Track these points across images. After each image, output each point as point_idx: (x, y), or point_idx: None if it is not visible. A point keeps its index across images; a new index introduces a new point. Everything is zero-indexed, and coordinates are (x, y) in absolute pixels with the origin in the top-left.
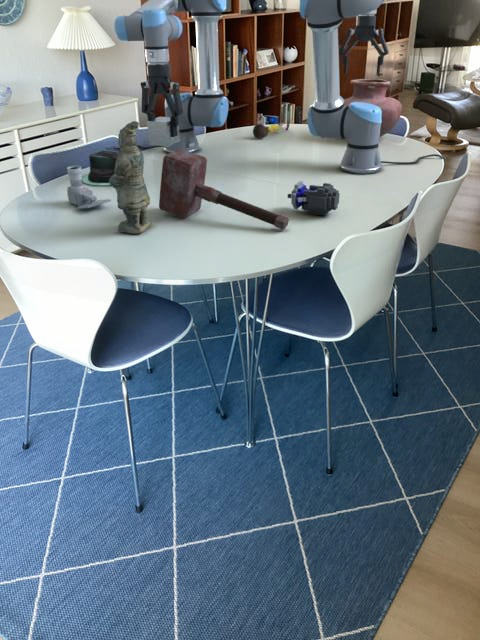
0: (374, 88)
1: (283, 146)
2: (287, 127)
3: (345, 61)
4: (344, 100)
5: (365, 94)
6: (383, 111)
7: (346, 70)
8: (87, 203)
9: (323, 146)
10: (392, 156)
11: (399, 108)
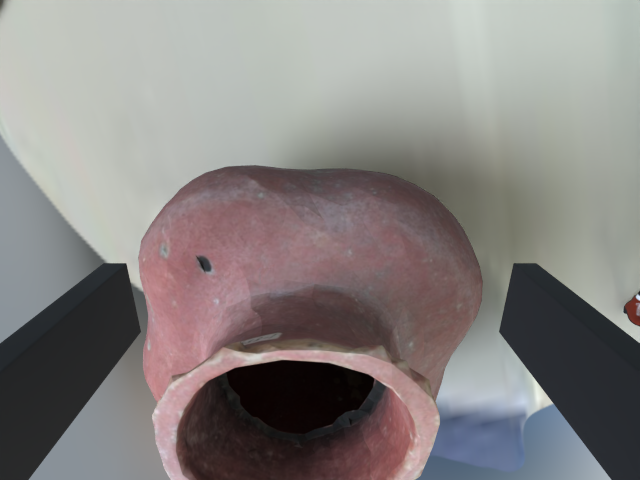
0: (240, 341)
1: (625, 25)
2: (633, 309)
3: (634, 351)
4: (430, 278)
5: (302, 309)
6: (172, 198)
7: (521, 310)
8: None
9: (444, 89)
10: (119, 2)
11: (145, 341)
